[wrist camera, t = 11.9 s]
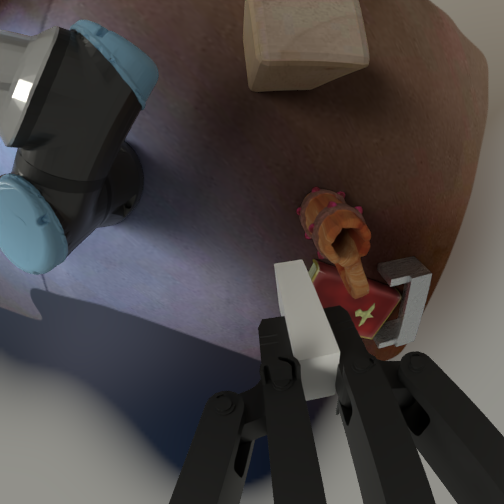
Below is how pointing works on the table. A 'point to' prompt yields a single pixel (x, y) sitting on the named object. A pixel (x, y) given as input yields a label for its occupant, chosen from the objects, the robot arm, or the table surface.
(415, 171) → the table surface
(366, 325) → the hardcover book
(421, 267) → the end cap
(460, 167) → the table surface
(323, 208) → the mug
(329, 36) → the wooden block
